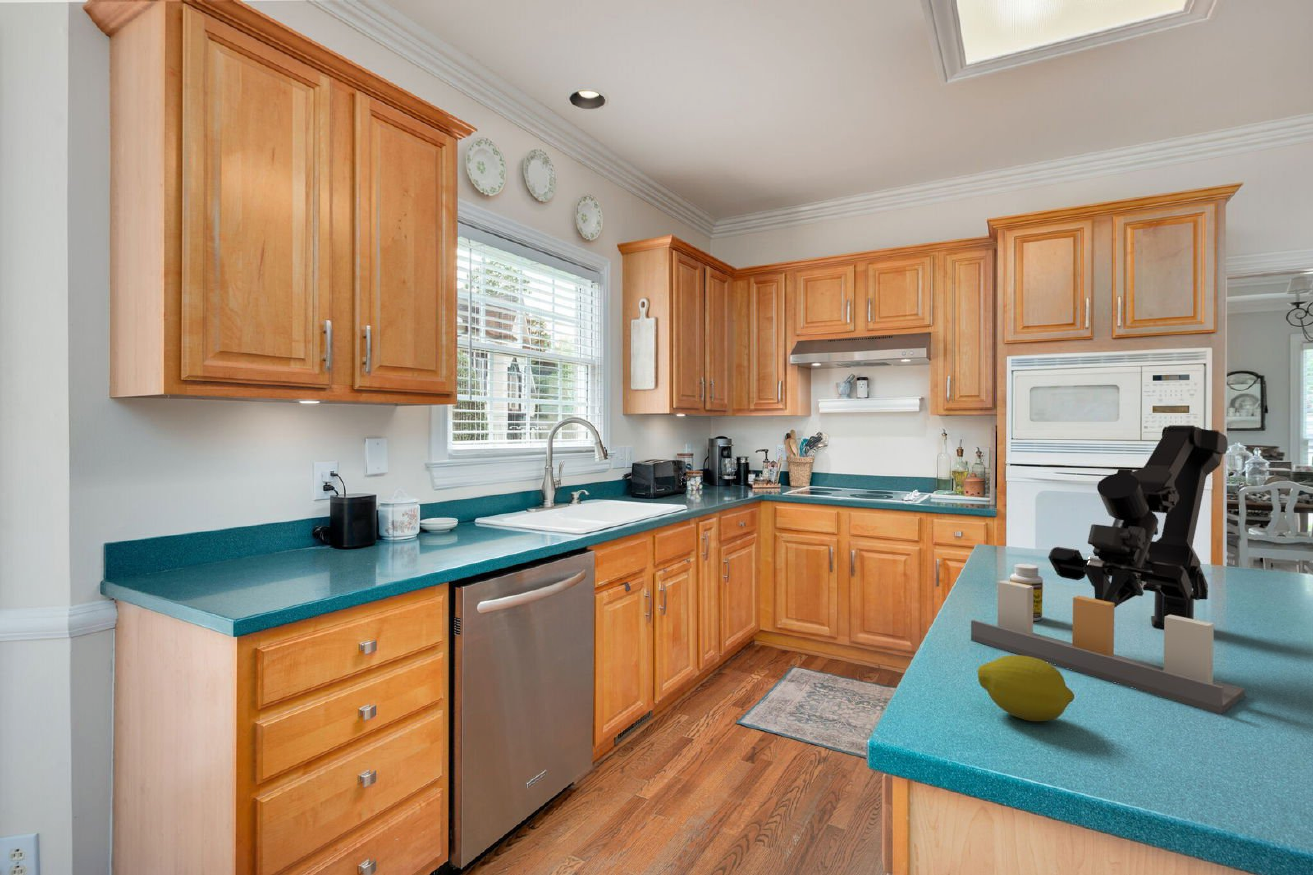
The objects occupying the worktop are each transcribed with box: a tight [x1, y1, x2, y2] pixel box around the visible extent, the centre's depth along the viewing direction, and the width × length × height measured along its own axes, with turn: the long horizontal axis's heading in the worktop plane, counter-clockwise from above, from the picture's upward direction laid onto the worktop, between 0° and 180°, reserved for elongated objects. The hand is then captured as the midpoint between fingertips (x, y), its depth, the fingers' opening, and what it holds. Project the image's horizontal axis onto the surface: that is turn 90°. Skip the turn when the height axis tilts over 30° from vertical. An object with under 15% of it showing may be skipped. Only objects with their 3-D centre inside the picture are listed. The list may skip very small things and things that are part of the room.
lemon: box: [977, 654, 1075, 722], centre depth 83 cm, size 11×8×8 cm
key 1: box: [997, 580, 1034, 636], centre depth 110 cm, size 2×5×9 cm, turn 34°
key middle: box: [1071, 595, 1115, 657], centre depth 100 cm, size 2×5×9 cm, turn 34°
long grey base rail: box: [970, 619, 1246, 715], centre depth 100 cm, size 10×34×4 cm, turn 34°
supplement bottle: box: [1009, 563, 1044, 622], centre depth 124 cm, size 6×6×10 cm
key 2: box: [1163, 615, 1215, 684], centre depth 90 cm, size 2×5×9 cm, turn 34°
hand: (1099, 613), depth 101 cm, fingers closed
